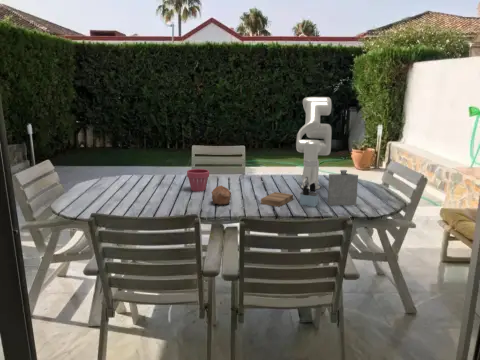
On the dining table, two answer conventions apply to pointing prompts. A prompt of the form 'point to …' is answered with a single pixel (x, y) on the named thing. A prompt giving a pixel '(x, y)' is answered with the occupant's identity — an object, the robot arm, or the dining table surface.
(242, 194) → the dining table surface
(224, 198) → the decorative rock
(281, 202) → the stand
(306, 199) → the block
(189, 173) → the plant pot
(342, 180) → the hip flask
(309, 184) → the robot arm
